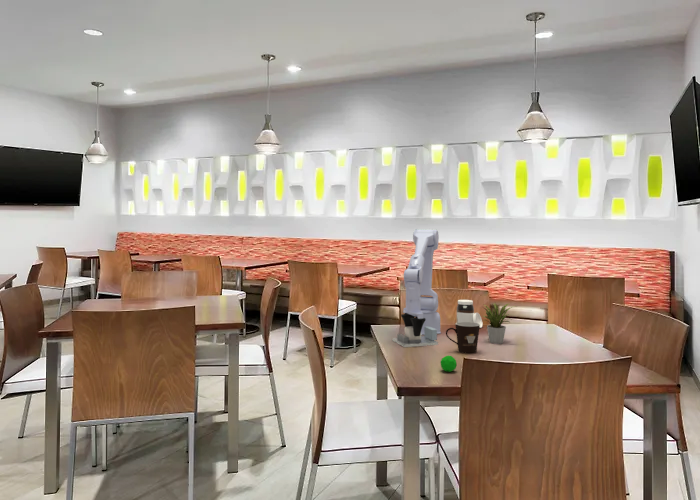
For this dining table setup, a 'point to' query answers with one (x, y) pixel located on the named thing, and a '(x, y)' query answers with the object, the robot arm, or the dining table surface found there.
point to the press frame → (413, 341)
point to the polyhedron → (448, 363)
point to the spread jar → (467, 312)
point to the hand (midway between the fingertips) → (413, 334)
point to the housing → (411, 333)
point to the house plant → (496, 324)
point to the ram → (430, 333)
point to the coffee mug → (466, 336)
